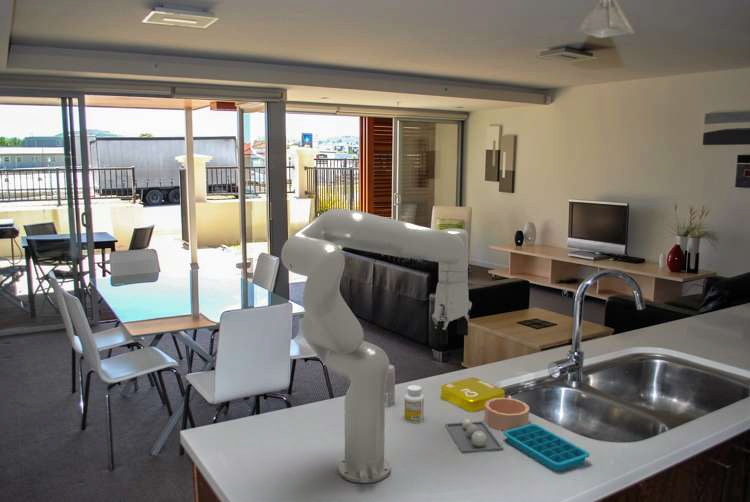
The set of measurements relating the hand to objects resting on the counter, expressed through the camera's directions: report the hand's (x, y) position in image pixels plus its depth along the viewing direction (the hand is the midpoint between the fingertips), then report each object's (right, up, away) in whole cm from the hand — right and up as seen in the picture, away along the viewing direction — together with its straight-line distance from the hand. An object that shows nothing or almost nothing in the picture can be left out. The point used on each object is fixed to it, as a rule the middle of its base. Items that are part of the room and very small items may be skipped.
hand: (452, 338), depth 164 cm
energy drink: (-17, -23, +23) cm, 37 cm away
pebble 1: (+5, -26, +6) cm, 27 cm away
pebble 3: (+6, -27, -4) cm, 28 cm away
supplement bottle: (-10, -25, +13) cm, 30 cm away
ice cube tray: (+23, -29, -6) cm, 37 cm away
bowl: (+17, -25, +11) cm, 32 cm away
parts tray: (+6, -27, +1) cm, 27 cm away
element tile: (+9, -23, +27) cm, 37 cm away
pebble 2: (+6, -27, +1) cm, 27 cm away
